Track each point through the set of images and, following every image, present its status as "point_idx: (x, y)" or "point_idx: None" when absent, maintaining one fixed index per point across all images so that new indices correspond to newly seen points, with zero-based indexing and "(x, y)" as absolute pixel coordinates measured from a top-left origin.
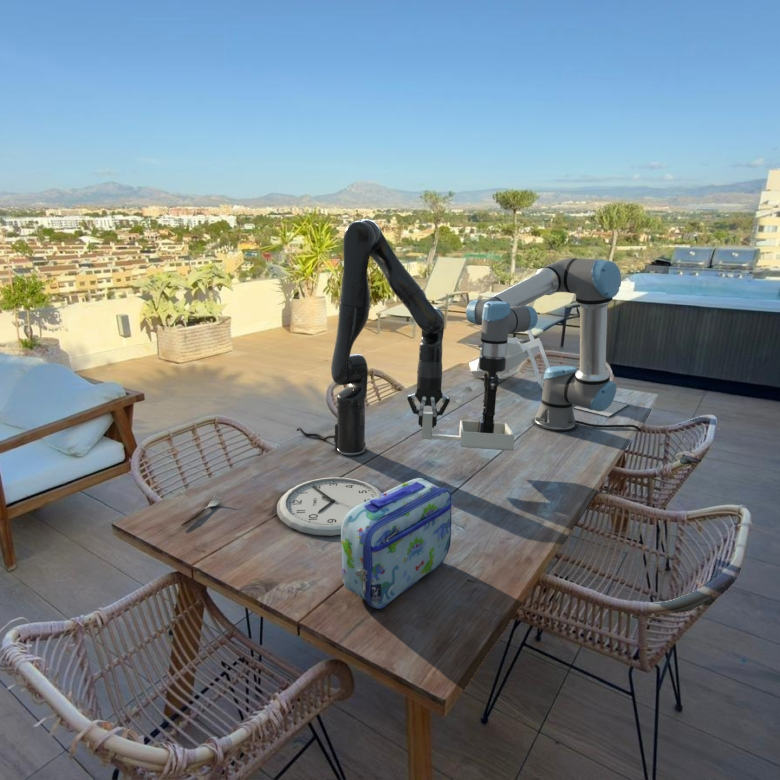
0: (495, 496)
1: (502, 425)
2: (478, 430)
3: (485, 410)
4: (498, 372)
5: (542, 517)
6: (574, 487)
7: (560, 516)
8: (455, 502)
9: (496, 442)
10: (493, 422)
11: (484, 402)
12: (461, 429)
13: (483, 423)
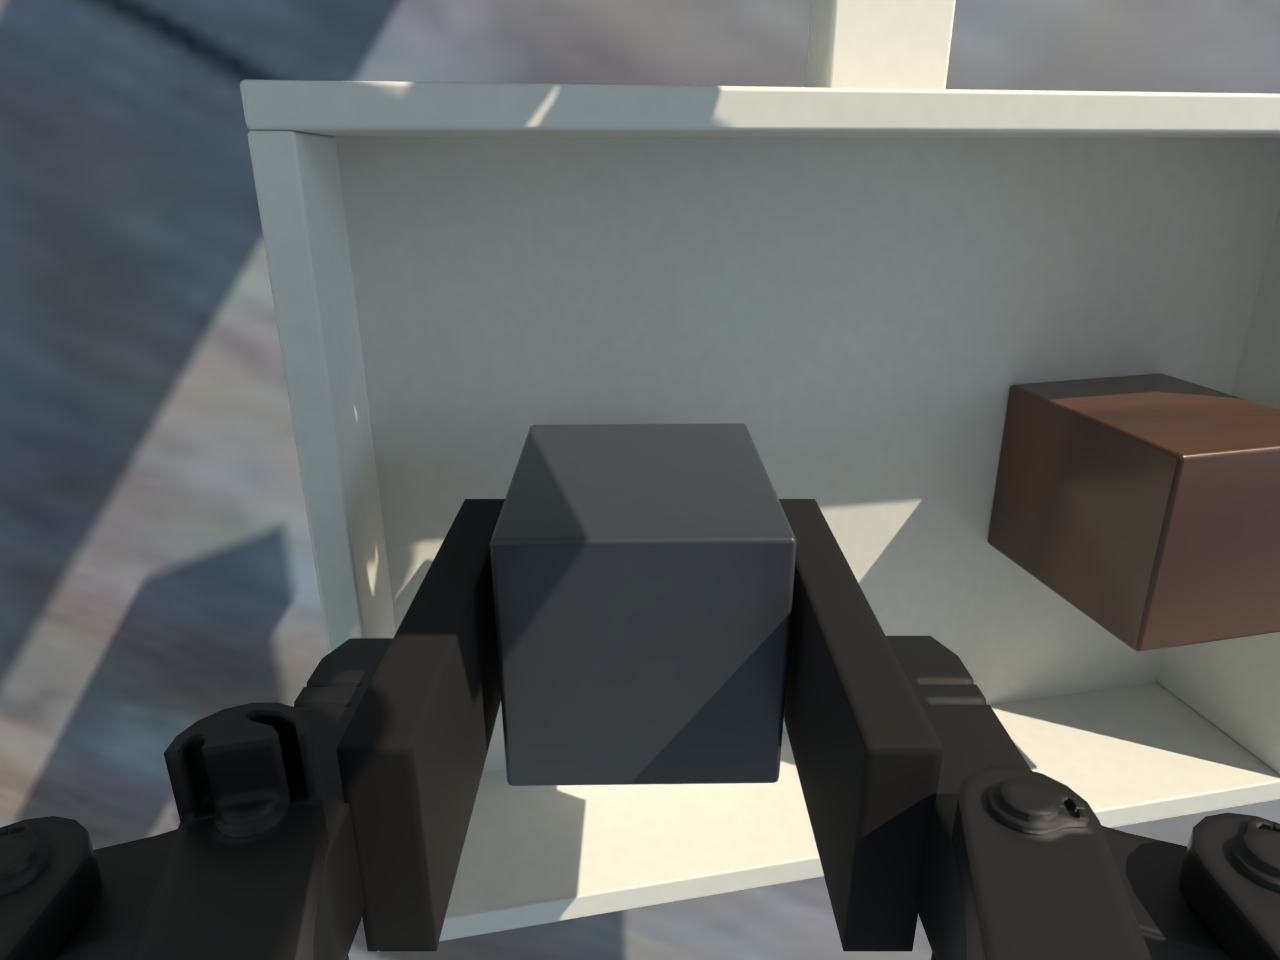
0: (278, 449)
1: (1265, 734)
2: (1070, 412)
3: (206, 879)
4: None
5: (80, 724)
6: (559, 948)
7: (137, 820)
8: (50, 93)
9: None
10: (578, 776)
11: (977, 917)
12: (542, 87)
13: (497, 590)
